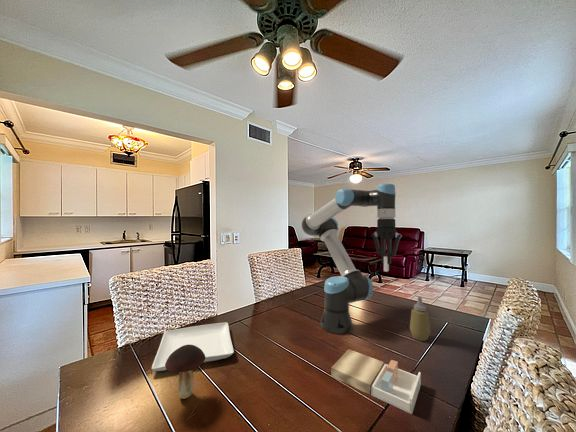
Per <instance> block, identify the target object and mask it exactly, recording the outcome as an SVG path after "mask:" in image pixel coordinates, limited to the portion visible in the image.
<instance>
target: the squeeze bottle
mask: <svg viewBox="0 0 576 432" xmlns="http://www.w3.org/2000/svg"><path fill="white" fill-rule="evenodd" d="M410 312H411V313H410V322H409V330H410V333H411V337H412V338H413V339H414V340H416V341H419V342H420V341H422V342H427V341H428V340H429V337H430V335H431V323H430V313H429V312H428V311H427V307H426V305H424V303H423V298H422V297H421V296H418V297H417V301H416V303H415V304H413V308H412V309H411V311H410Z"/></svg>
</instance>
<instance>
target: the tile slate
mask: <svg viewBox="0 0 576 432" xmlns="http://www.w3.org/2000/svg"><path fill="white" fill-rule="evenodd" d="M382 390H383V391H386V392H388V393H390V394H392V391H393V373H391V372H389V371H386V372H385V374H384V376H383V378H382Z"/></svg>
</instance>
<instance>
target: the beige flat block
mask: <svg viewBox="0 0 576 432" xmlns="http://www.w3.org/2000/svg"><path fill="white" fill-rule="evenodd" d="M384 364H385V363H384V361H382V360H380V359H377V358H373V357H371V356H369V355H366V354H363V353H360V352H357V351H355V350H352V349H349V348H348V349H347V350H346V351H345V353H343V355H342V356H341V357H340V358H338V360H336V362H335V363H334V364H333V365H332V366H331V367H330V368H331V369H330V371H331V373H330V376H331V378H333V379H336V380H338V381H340V382H342V383H344V384H346V385H348V386H351V387H353V388H355V389H357V390H359V391H361V392H363V393H365V394H368V395H371V386H372V384H373V383H374V381H375V379H376V378H377V376H378V374H379V373H380V371H381V369H382V367H383V366H384Z"/></svg>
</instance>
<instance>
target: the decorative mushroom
mask: <svg viewBox="0 0 576 432" xmlns="http://www.w3.org/2000/svg"><path fill="white" fill-rule="evenodd" d="M204 360H205V354H204V353H203V351H202V350H201V349H200V348H198V347H197V346H194V345H184V346H182V347H180V348H178V349H177V350H175V351H174V352H173V353H172V354H171V355H170V356H169V357H168V359H167V361H166V363H165V367H166V369H167V370H166V371H168V372H169V373H176V374H177V373H178V384H177V385H178V387H177V389H178V391H177V392H178V396H179V398H180V399H183V400H184V399H188V398H190V396H192V395H193V391H194V373H193V372H194V371H193V370H195V369H198V368H199V367H200V366H201V365H202V364H203V363H205V362H204Z"/></svg>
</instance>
